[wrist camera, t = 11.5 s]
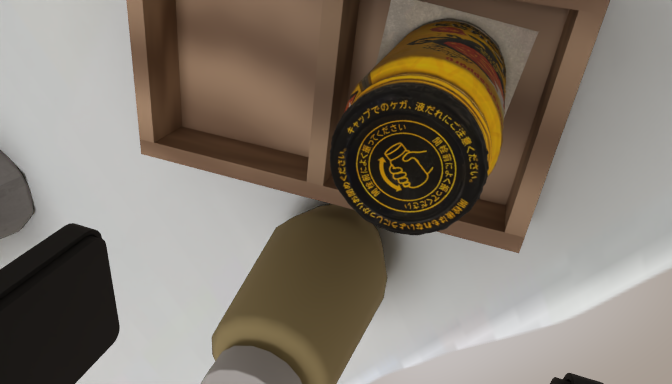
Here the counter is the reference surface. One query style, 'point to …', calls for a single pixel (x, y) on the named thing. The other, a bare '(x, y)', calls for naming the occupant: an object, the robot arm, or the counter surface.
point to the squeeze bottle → (302, 302)
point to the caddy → (335, 92)
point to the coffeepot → (13, 198)
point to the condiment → (428, 117)
